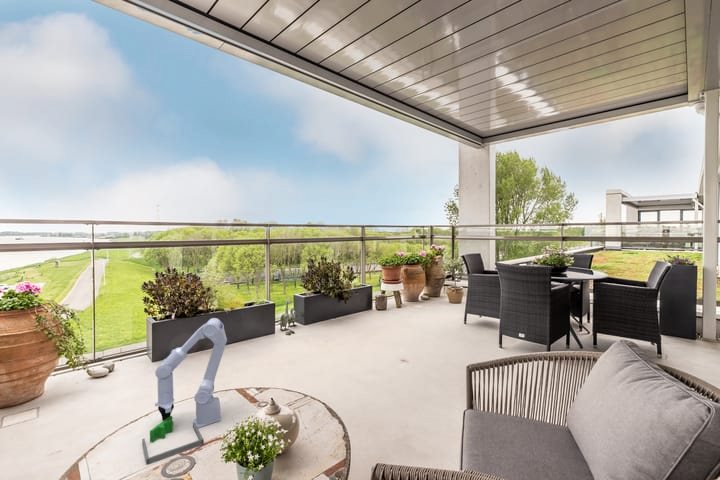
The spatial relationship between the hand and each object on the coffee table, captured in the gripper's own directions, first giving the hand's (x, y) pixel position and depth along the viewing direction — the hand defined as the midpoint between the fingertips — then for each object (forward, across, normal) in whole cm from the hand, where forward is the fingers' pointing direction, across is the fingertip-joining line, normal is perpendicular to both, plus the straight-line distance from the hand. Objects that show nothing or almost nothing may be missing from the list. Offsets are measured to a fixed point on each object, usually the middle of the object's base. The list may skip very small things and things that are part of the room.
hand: (166, 422), depth 144 cm
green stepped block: (+2, +6, -2) cm, 7 cm away
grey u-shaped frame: (+2, +15, 0) cm, 15 cm away
